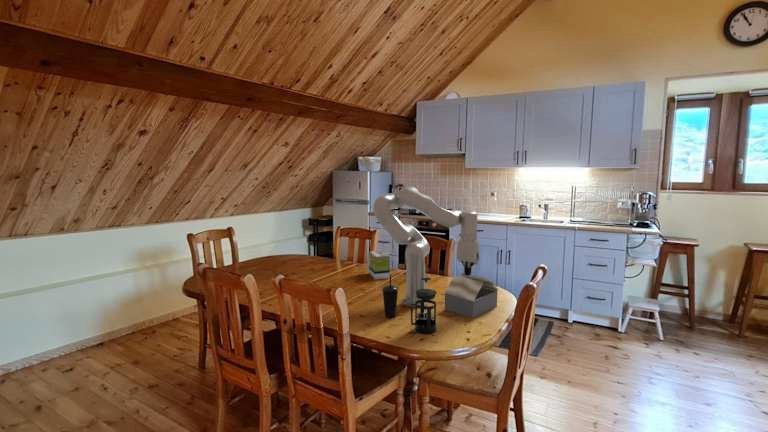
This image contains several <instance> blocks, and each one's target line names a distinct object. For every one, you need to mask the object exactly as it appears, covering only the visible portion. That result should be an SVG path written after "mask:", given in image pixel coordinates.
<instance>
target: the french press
mask: <svg viewBox="0 0 768 432" xmlns="http://www.w3.org/2000/svg"><path fill="white" fill-rule="evenodd" d="M421 279H422V280H425V284H427V283H428V281H431V279H432V278H431V277H427V276H425V277H423V278H421ZM415 293H416V297H417V298H418V299H422V300H418V301H416V302H415V304H411V307H410V324H411V326H414V331H415V332H416V333H418V334H419V335H420V334H421V335H432V334H435V333H436V332H437V302H436V301H434V299H435V297H436V295H437V291H436V290H435V289H431V288H425V289H418V290H416V291H415ZM424 302H425V306H424ZM418 303H420V306H419V305H417V304H418ZM426 303H428V304H433V305H430V306H428V305H426ZM413 306H415V307H413ZM413 308H414V309H413ZM418 309H420V311H419V312H418ZM413 310H414V312H413ZM432 310H433V313H432ZM413 313H414V314H413ZM413 315H414V322H413Z"/></svg>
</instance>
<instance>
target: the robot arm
mask: <svg viewBox="0 0 768 432" xmlns="http://www.w3.org/2000/svg"><path fill="white" fill-rule="evenodd" d="M404 206H407V207H409V208H411V209H413V210H415V211H417V212H419V213H422V214H423V215H424V216H425V217H428V219H430V220H432V221H433V222H435V223H437V224H439V225H440V226H443V227H446V228H448V229H449V228H451V229H452V228H453V229H454V228H455V227H457V226H460V233H458V237H460V239H458V242H457V248H456V259H457V261H458V262H460V263H461V264H462V266H463V270H464V271H463V272H464V273H465V275H467V276H468V275H472V267H474V266H476V265H477V266H478V265H479V260H480V248H479V247H480V246H479V241H478V240H477V239H478V213H477V212H476V211H473V210H471V211H470V210H467V211H466V210H465V211H464V210H459V209H451V210H448V209H445V208H443V207H441V206H439V205H438V204H437V203H436V202H435V201H434V199H433V198H431V197H430V196H428V195H426V194H424V193H422V192H419V191H418V189H417V188H416V187H414V186H411V185H410V186H405V187H402V188H401V189H399V190H396V191H393V192H391V193H390V192H389V193H386V194H382V195H379V196H378V197H377V198H376V199H375V201H374V203H373V207H372V209H373V210H372V211H373V215H374V217H375V219H376V220H377V222H379V224H380V225H381V226H382V227H383V228H384V230H385V231H386V232H387V233H388V235H390V237H391V238H392V239H393V240H394V242H395V243H396V244H398V245H403V246H404V245H407V247H406V248H405V254H404V255H405V256H404V257H405V266H406V268H405V269H406V270H405V271H406V277H405V280H406V281H405V282H406V284H405V289H406V291H405V295H404V298H402V299H400V300H399V302H400V303H401V304H404V305H405V306H406V307H410V308H411V304H415V302H416V301H418V300H422V299H418V298H417V297H416V293H415V291H416V290H418V289H426V283H425V280H422V279H421V278H423V277H426V263H425V258H426V257H427V256H428V255H429V253H430V250H431V247H430V243H429V242H428V240H427V239H426V238H425V237H424V236H423V234H421V232H419V231H418V229H417V228H416V227H414V225H412V224H410V223H404V224H403V223H402V221H401V220H400V219H399V218H398V217H397V216H396V214H394V213H393V212H392V210H395V209H397V208H401V207H404ZM428 304H429V303H426V306H428ZM417 305H419V306H420V303H418V304H417ZM424 306H425V302H424ZM413 308H415V306H413Z"/></svg>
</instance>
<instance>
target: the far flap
mask: <svg viewBox="0 0 768 432" xmlns="http://www.w3.org/2000/svg"><path fill="white" fill-rule="evenodd" d="M461 277H464V278H468V279H472V280H477V281H481V282H483V285H482V287H484V288H488V289H492V290H496V291H497V292H498V290H499V288H498V287H497V285H495V284H494V282H493V281H492V280H491V279H490V278H486V277H482V276H477V275H473V274H471V275H468V276H467V275H465V273H463V272H461Z"/></svg>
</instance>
